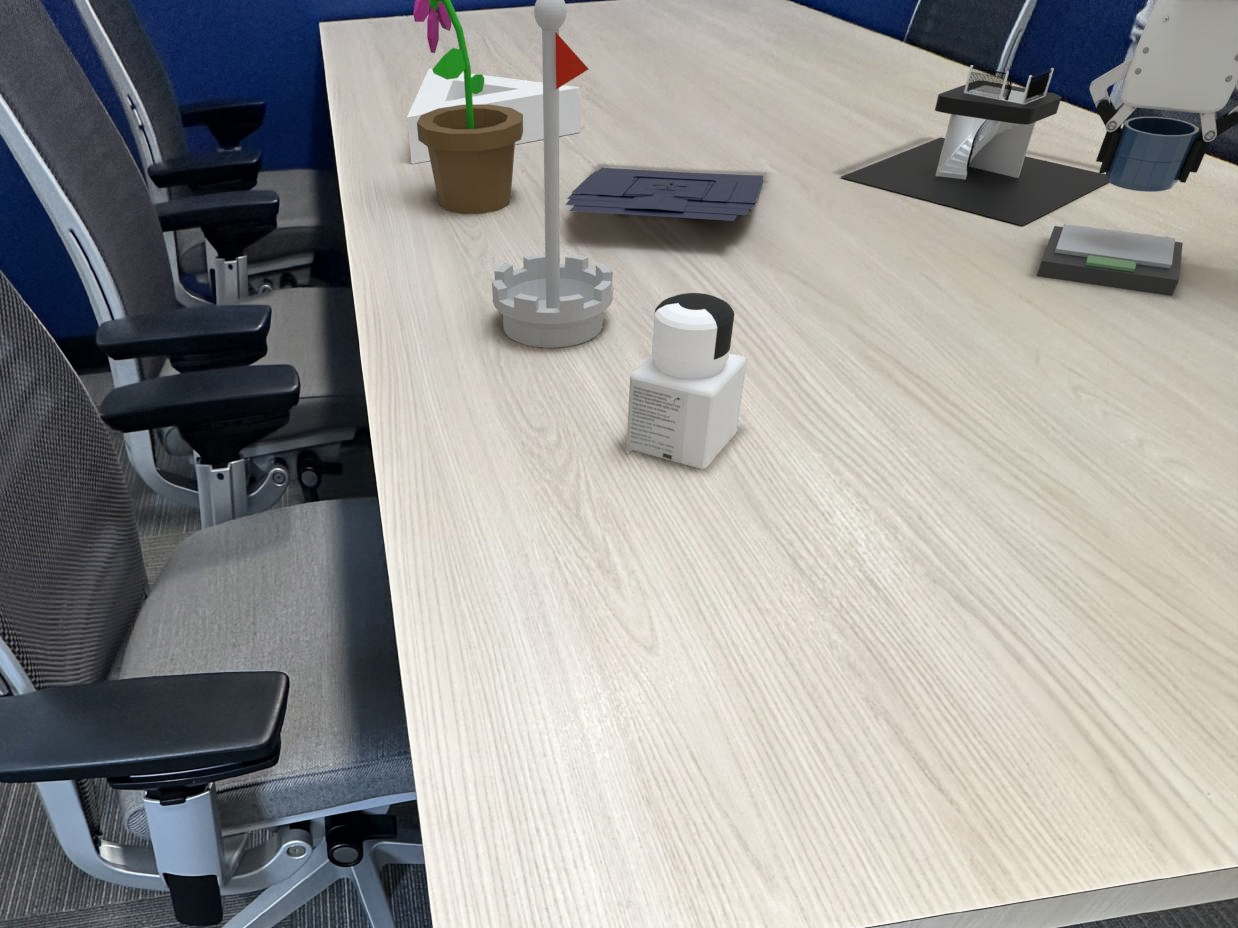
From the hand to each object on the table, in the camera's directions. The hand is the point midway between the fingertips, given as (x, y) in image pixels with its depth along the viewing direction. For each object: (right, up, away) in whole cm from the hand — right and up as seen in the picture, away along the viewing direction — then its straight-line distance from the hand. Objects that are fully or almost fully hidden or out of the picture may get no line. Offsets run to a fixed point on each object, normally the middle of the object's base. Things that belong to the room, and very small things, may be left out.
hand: (1142, 173), depth 106 cm
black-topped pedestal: (-4, +16, +31) cm, 35 cm away
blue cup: (0, -1, +1) cm, 1 cm away
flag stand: (-65, -17, +1) cm, 67 cm away
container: (-54, -35, -18) cm, 67 cm away
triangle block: (-72, +36, +52) cm, 96 cm away
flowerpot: (-75, +12, +30) cm, 82 cm away
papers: (-49, +9, +25) cm, 56 cm away
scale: (0, -8, +7) cm, 10 cm away
